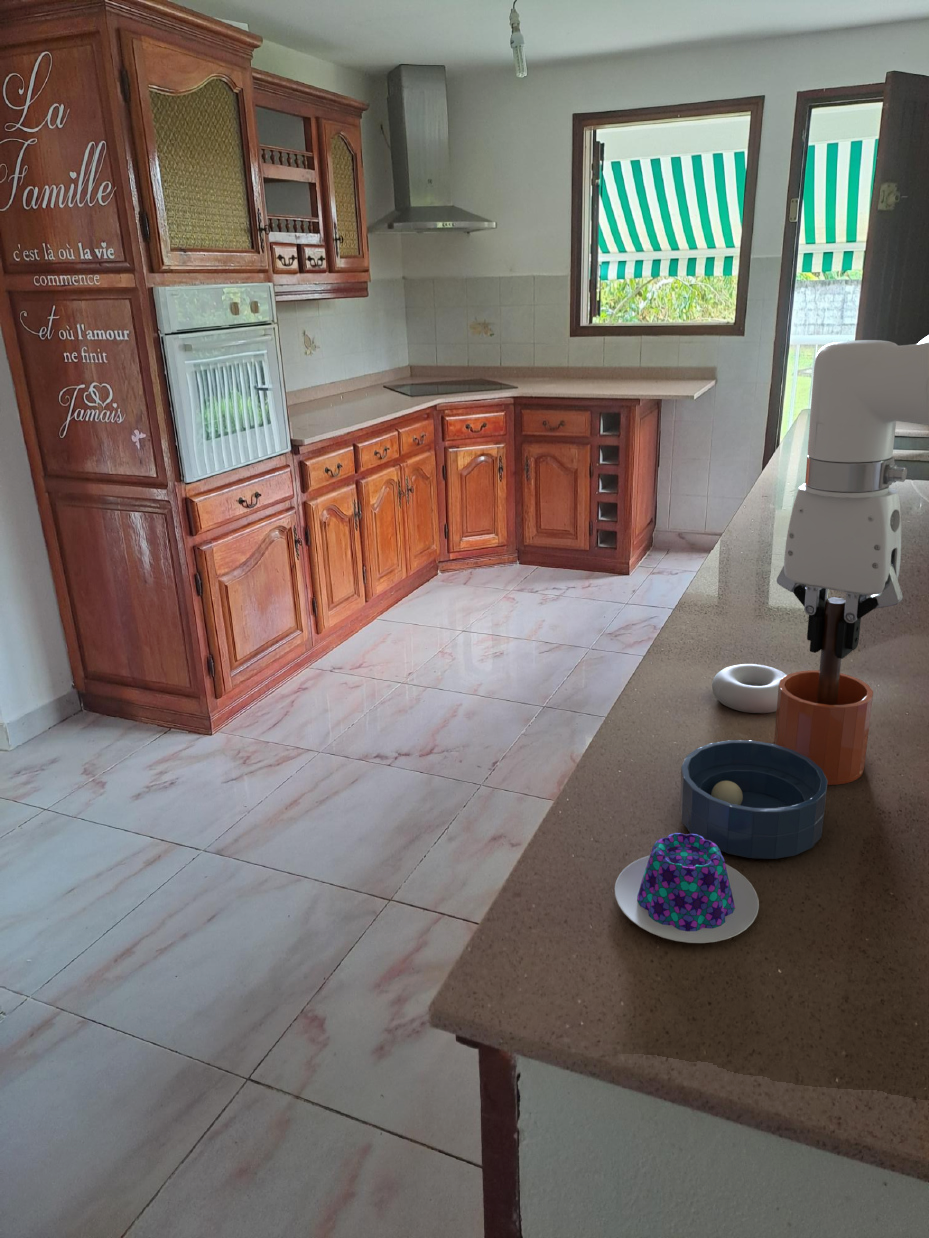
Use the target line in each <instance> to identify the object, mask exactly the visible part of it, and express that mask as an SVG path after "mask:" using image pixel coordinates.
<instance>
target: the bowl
mask: <svg viewBox="0 0 929 1238" xmlns="http://www.w3.org/2000/svg"><path fill="white" fill-rule="evenodd" d="M721 781H731V782H734V783H735V784H737V785H738V786H739V787H740V789H741V791H742V794H743V800H742V803H741V805H735V804H731V803H728V802H725V801H723V800H720V799H717V798H714V797H712V796H711V792H712V789H713V787H714V786H715V785H716V784H717V783H719V782H721ZM827 784H828V780H827V778H826V776H825V774H824V772H823V770H822V769H821V768H820V767H819V766H818V765H817V764H816V763H814V762H813V761H812V760H811V759H810V758H808V757H806V756H804V755H802V754H800V753H798V752H796V751H794V750H792V749H788V748H785V747H782V746H779V745H776V744H774V743H771V742H765V741H757V740H751V739H748V740H747V739H745V740H742V739H741V740H740V739H737V740H736V739H732V740H731V739H729V740H723V741H716V742H711V743H708V744H705V745H703V746H700V747H697V748H695V749H694V750H693V751H691V752H689V754H687V755H686V756H685V757H684V760H683V762H682V764H681V767H680V787H679V789H680V792H679V814H680V819H681V823H682V824H683V825H684V827H685V828H686V829H687V831H688V832H689V834H697V835H700V836H702V837H703V838H704V839H705V840H709V841H712V842H713V843H715V844H716V845H717V846H718V848H719V849H720V851H721V852H723V853H726V854H728V855H734V856H738V857H741V858H742V857H743V858H747V859H767V860H775V859H776V860H777V859H782V858H789V857H794V856H798V855H800V854H802V853H804V852H806V851H808V850H811V849H812V848H813V847H814V846H815V845H816V844H817V843H818V842H819V840H820V839H822V835H823V828H824V822H825V821H824V819H825V810H826V803H827V802H826V801H827V792H828V785H827Z"/></svg>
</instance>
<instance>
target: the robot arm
mask: <svg viewBox="0 0 929 1238" xmlns="http://www.w3.org/2000/svg"><path fill="white" fill-rule="evenodd" d="M812 374H813V375H812V387H811V402H810V414H809V427H808V441H807V456H806V467H805V482H804V483H802V484H801V485H800V486H799V487H798V489H797V492H796V495H795V499H794V502H793V505H792V510H791V514H790V519H789V523H788V529H787V535H786V541H785V548H784V557H783V566H782V568H781V570H780V571H779V574H778V576H777V577H776V584H777V585H779V586H780V587H782V588H783V589H785V590H786V591H788V592H790V593H793V594H794V596H795V598H796V599H797V600H798V601H799V603H801V605H802V606H803V609H804V610H803V611H804V613H805V614H806V615H808V618H807V619H808V620H807V634H806V640H807V641H809V643H810V644H809V652H810V653H815V654H817V653H819V652H821V646H822V635H823V623H824V612H825V600H826V599H827V598H828V594H829V591H828V590H831V591H837V592H843V593H845V600H846V601H845V612H844V614H843V619H842V620H841V621H839V623H838V628H837V639H836V650H835V656H837V658H840V659H841V660H843V659H844V658H846V657H847V656H848V655H850V654H851V653H852V652H853V651H855V650H856V649H857V648H858V646H859V641H860V631H861V623H862V618H863V617H864V616H866V615H868V614H869V613H870V612H872V611H873V610H875V609H882V608H888V607H893V606H897V605H898V604H899V603H900V602H902V601H903V599H904V596H903V593H902V589H901V586H900V584H899V581H898V579H899V575H900V570H901V569H900V568H901V559H902V558H901V557H902V513H901V501H900V494H899V490H898V489H897V488H891V487H890V486H891V485H892V484H894V483H897V482H898V483H899V482H900V483H904V482H905V481H906V479H907V476H908V468H907V467H903V466H899V465H896V463H895V459H896V458H895V457H893V456H894V455H893V454H894V446H895V437H896V427H897V422H901V423H909V424H916V425H917V424H918V425H925V426H929V334H928V335H927V336H925V337H924V338H922V339H921V340H920V341H918V343H914V344H903V345H901V344H900V345H898V344H897V343H895V342H893V341H889V340H880V339H859V340H858V339H857V340H844V341H836V342H831V343H827V344H825V345H824V346H822V347H821V348H820V349H819V350H818V352H817V353H816V355H815V357H814V363H813V373H812Z"/></svg>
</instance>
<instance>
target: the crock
mask: <svg viewBox="0 0 929 1238" xmlns="http://www.w3.org/2000/svg"><path fill="white" fill-rule="evenodd" d="M818 680H819V669H808V670H807V669H806V670H800V671H794V672H792V673H788V674H786V676H784V677H783V678H782V679H781V680H780V682H779V686H778V699H777V711H775V712H776V713H775V726H774V738H773V744H776V745H779V746H782V747H785V748H788V749H792V750H794V751H796V752H798V753H800V754H802V755H804V756H806V757H808V758H810V759H811V760H812V761H813V762H814V763H816V764H817V765H818V766H819V767H820V768H821V769H822V770H823V772H824V774H825V776H826V778H827V780H828V784H827V786H834V785H835V786H837V785H844V784H849V783H852V782H854V781H856V780H859V778H861V777H862V775H863V774H864V771H865V764H866V757H867V748H868V739H869V732H870V726H871V725H870V724H871V715H872V707H873V700H874V690H873V689H872V688H871V686H870V685H869V684H868V683H866V682H865V681H863V680H861V679H860V678H858V677H855V676H852V675H849V674H845V673H842V672H840V678H839V688H838V698H837V705H826V704H819V703H817V692H818Z"/></svg>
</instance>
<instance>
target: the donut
mask: <svg viewBox="0 0 929 1238" xmlns="http://www.w3.org/2000/svg"><path fill="white" fill-rule="evenodd" d="M786 675H787V674H786V673H785V672H783V671H781V670H780V669H778V668H774V667H771V666H769V665H768V666H767V665H764V664H756V663H742V664H735V665H730V666H726V667H725V668H723V669H722V670H720V671H718V672H717V673H716V674H715V676H714V678H713V679H712V682H711V690H712V694H713V695H714V697H715V698H716V699H717V700H718V701H719V702H720V703H721V704H722V705H724V706H725V707H728V708H729V709H732V710H735V711H738V712H743V713H749V714H769V713H775V712H776V711H777V699H778V686H779V682H780V680H781V679H782V678H783V677H784V676H786Z"/></svg>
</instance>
